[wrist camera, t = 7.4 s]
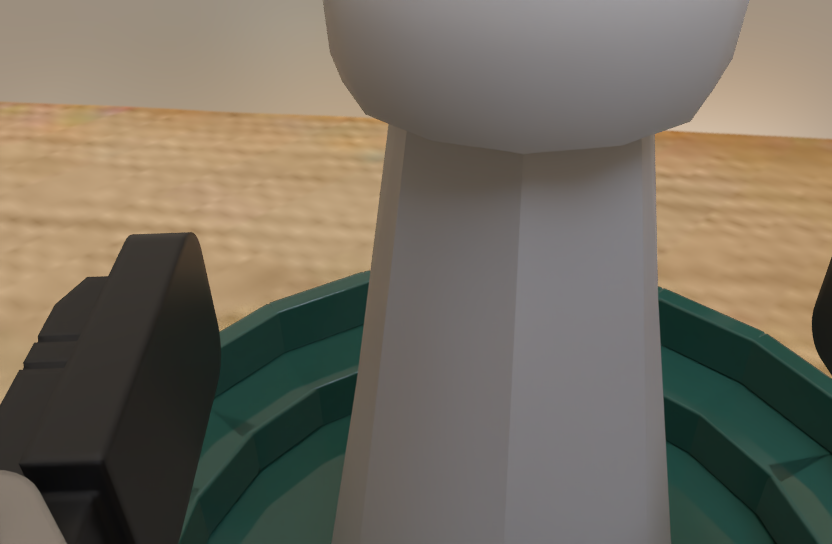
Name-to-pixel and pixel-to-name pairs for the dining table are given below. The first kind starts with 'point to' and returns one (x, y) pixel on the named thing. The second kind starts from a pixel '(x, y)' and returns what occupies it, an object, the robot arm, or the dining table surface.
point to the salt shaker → (517, 264)
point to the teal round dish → (683, 413)
